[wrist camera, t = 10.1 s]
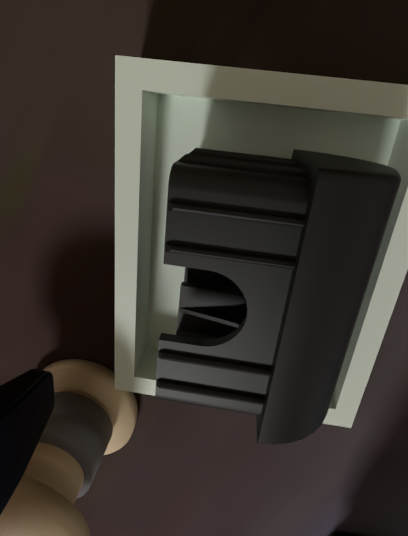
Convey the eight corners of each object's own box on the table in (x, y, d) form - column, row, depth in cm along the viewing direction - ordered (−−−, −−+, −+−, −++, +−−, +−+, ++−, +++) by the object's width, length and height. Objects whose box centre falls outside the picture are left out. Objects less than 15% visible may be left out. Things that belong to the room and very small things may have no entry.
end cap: (312, 349, 19) (341, 461, 13) (180, 329, 20) (149, 428, 13) (364, 155, 15) (443, 183, 9) (198, 136, 16) (165, 150, 10)
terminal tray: (429, 95, 15) (471, 91, 12) (337, 386, 21) (351, 427, 18) (139, 65, 15) (115, 55, 13) (131, 354, 21) (114, 389, 19)
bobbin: (139, 368, 22) (78, 510, 14) (136, 451, 24) (84, 607, 17) (28, 351, 22) (-91, 478, 14) (37, 434, 25) (-58, 578, 17)
